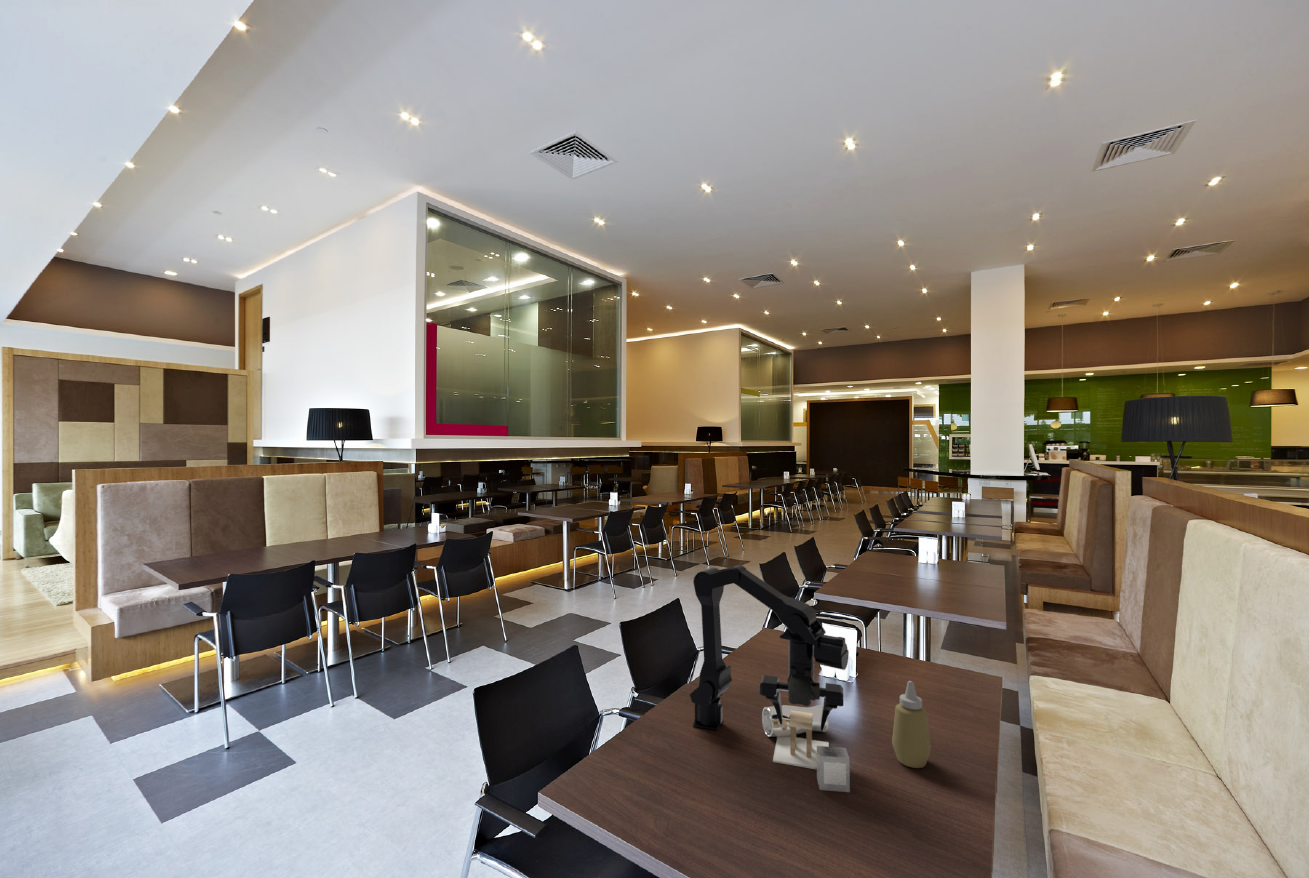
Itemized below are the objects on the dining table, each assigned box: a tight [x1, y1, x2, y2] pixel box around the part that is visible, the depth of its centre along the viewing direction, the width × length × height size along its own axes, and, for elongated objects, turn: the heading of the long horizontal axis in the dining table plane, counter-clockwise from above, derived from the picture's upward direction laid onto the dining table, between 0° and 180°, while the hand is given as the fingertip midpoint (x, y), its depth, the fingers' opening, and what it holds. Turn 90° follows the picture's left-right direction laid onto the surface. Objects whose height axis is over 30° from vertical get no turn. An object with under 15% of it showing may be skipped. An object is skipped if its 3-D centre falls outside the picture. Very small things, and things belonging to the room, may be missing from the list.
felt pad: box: [772, 736, 830, 770], centre depth 129 cm, size 12×12×1 cm
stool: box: [789, 710, 813, 758], centre depth 129 cm, size 5×5×8 cm
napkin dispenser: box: [816, 746, 851, 793], centre depth 116 cm, size 6×4×7 cm
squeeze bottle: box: [891, 680, 932, 769], centre depth 126 cm, size 8×8×18 cm
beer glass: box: [761, 704, 829, 738], centre depth 138 cm, size 7×7×15 cm
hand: (801, 726), depth 129 cm, fingers open, 9 cm apart
